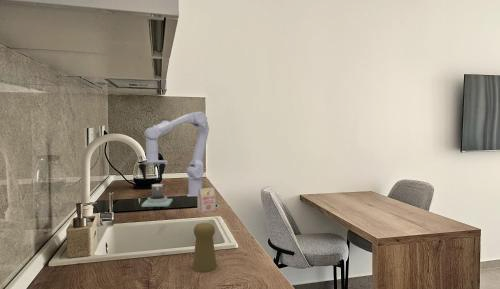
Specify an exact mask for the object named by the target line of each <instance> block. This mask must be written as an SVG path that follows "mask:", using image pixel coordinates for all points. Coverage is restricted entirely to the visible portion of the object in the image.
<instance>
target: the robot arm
mask: <svg viewBox="0 0 500 289" xmlns="http://www.w3.org/2000/svg"><path fill="white" fill-rule="evenodd" d="M185 123H190V124H192V125H193V126H195V128H196V129H197V131H198V133H197V136H196V141H195V142H196V143H195V146H194V151H193V155H192V158H191V159H192V160H191V161H190V162H189V164H188V165H189V166H187V168H186V174H187V176H188V178H187V179H188V180H187V181H188V182H187V183H188V193H187V195H186V196H187V197H189V198H190V197H198V190H199V189H201V188H203V176H204V173H205V172H204V167H205V166H204V162H203V160H204V155H205V151H206V145H207V142H208V141H207V140H208V137H209V132H210V127H209V123H208V116H207V115H206V114H205V113H204V112H203V111H196V112H195V111H193V112H190V113H186V114H184V115H181V116H179V117H177V118H175V119H173V120H171V121H169V120H162V121H161V122H160V123H158V124H154V125H152V127H148V128H146V130H144V133H143V135H144V137H145V156H146V157H145V159H146V158H147V162H145V163H137V162H136V166H138V168H139V170H140V172H141V174H142V178H143V180H146V179H147V173H146V172H147V165H149V166H150V165H152V166H153V165H158V169H159V174H158V175H159V180H162V178H163V177H162V176H163V173H164V171H165V168H166V165H168V162H169V161H168V160H165V159H164V160H163V159H161V160H160V159H159V140H158V139H159V137H161V136H164V135H166V134H167V133H169V132H172V130H173V128H175V127H177V126H181V125H182V124H185Z"/></svg>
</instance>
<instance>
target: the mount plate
mask: <svg viewBox="0 0 500 289" xmlns="http://www.w3.org/2000/svg"><path fill="white" fill-rule="evenodd" d="M173 201H174V200H173V198H167V202H164V203H155V204H153V203H148V198H147V199H146V200H145V201H144V202H142V203H141V208H144V207H147V208H148V207H170V205H171V203H173Z"/></svg>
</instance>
